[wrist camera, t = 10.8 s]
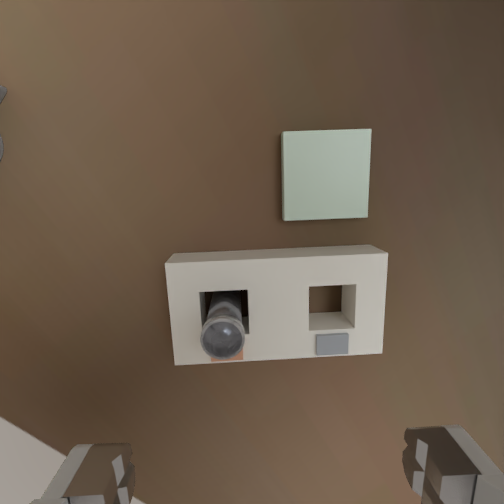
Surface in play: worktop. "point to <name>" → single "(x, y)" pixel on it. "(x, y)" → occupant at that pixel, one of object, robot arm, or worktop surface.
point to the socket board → (281, 301)
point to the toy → (0, 94)
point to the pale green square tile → (325, 174)
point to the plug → (223, 326)
